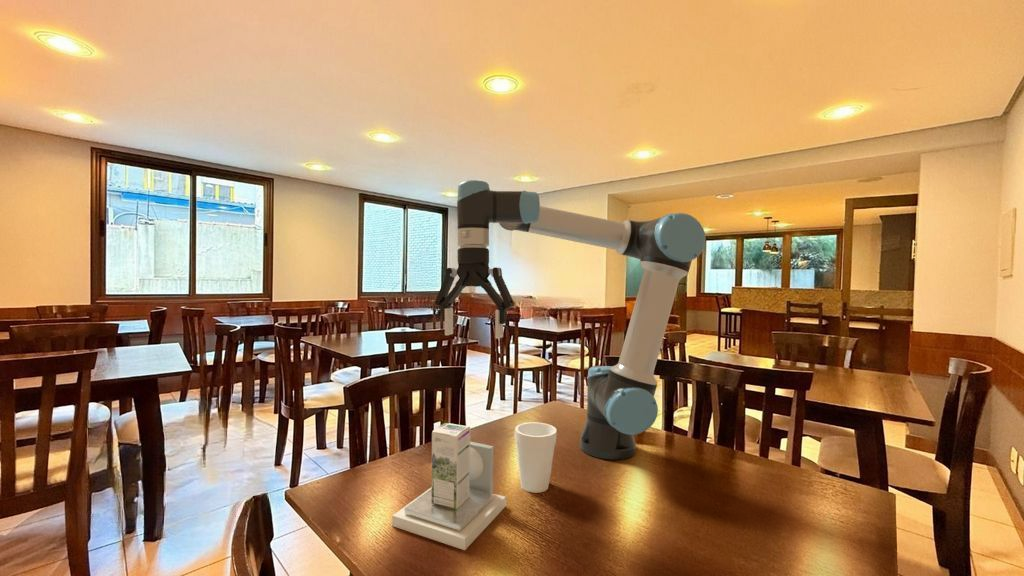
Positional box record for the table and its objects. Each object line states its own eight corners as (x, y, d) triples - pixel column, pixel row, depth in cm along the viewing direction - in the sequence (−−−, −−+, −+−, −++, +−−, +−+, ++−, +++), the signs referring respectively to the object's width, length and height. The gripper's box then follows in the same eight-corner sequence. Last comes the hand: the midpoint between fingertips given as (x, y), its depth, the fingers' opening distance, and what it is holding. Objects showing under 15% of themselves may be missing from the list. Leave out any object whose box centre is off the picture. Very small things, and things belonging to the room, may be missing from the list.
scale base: (505, 506, 89) (506, 449, 89) (464, 550, 74) (465, 481, 74) (441, 488, 96) (441, 435, 95) (392, 526, 81) (392, 463, 81)
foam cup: (552, 498, 92) (553, 438, 92) (510, 493, 94) (511, 434, 94) (557, 478, 102) (558, 424, 101) (518, 474, 103) (519, 420, 103)
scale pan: (492, 498, 87) (492, 493, 87) (460, 530, 76) (460, 525, 76) (442, 485, 93) (442, 480, 93) (404, 513, 82) (404, 508, 82)
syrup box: (470, 496, 86) (471, 425, 86) (456, 511, 81) (457, 435, 80) (445, 491, 88) (446, 421, 88) (429, 505, 83) (430, 430, 82)
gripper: (420, 247, 104) (420, 335, 104) (515, 245, 94) (515, 341, 95) (437, 249, 111) (437, 331, 111) (527, 247, 101) (527, 337, 102)
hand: (473, 336), depth 103 cm, fingers open, 13 cm apart
